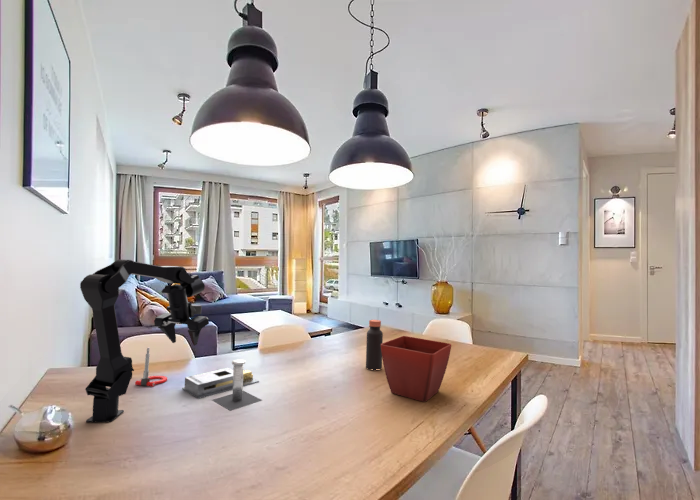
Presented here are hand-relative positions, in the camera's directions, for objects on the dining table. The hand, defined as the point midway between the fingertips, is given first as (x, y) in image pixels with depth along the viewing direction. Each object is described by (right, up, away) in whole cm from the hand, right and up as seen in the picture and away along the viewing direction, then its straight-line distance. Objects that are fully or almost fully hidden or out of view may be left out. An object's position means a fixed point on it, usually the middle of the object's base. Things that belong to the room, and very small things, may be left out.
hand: (184, 343), depth 122 cm
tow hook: (-12, -14, +1) cm, 18 cm away
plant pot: (+81, -17, -2) cm, 83 cm away
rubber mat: (+23, -14, -14) cm, 30 cm away
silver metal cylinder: (+23, -14, -14) cm, 30 cm away
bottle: (+68, -17, +24) cm, 74 cm away
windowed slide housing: (+14, -14, -2) cm, 20 cm away
